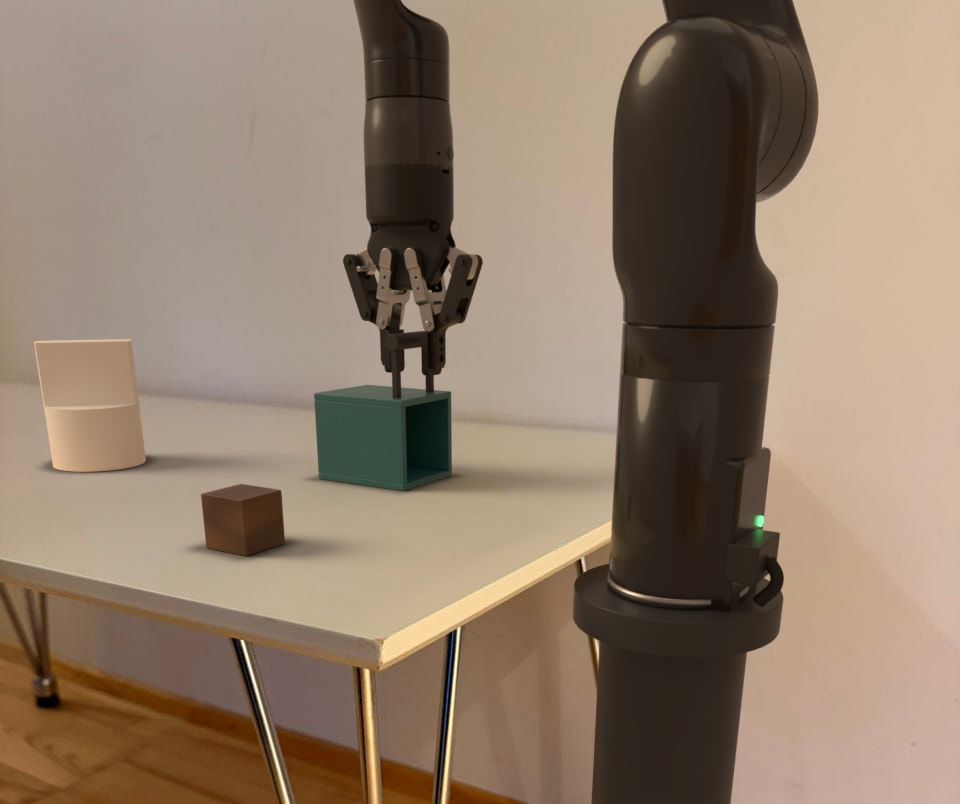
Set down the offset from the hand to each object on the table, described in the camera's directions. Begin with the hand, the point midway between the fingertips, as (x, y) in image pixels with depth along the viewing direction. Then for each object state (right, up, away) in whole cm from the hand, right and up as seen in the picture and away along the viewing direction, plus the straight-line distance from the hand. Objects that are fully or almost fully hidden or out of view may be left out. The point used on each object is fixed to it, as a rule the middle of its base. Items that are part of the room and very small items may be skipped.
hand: (413, 372), depth 89 cm
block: (-11, -17, -18) cm, 27 cm away
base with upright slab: (-33, -6, +12) cm, 35 cm away
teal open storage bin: (-3, -9, +5) cm, 11 cm away
